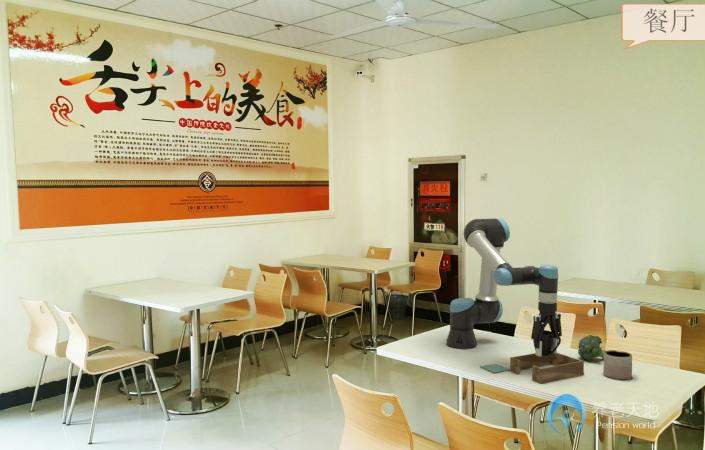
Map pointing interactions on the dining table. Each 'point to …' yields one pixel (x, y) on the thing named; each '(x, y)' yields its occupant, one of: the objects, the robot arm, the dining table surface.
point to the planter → (617, 365)
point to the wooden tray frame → (560, 370)
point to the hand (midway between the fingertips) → (546, 354)
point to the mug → (548, 343)
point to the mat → (495, 368)
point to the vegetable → (590, 347)
